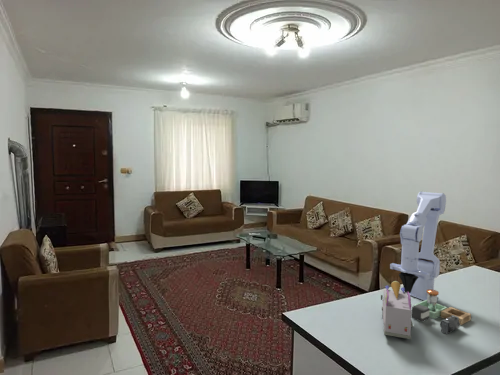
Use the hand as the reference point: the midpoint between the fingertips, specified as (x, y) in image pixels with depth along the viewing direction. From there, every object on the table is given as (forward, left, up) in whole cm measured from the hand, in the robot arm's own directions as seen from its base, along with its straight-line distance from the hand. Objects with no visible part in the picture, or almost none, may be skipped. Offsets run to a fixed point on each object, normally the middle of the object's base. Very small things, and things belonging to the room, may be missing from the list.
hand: (407, 292), depth 127 cm
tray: (+4, +8, -8) cm, 12 cm away
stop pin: (+5, +8, -7) cm, 12 cm away
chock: (+5, 0, -8) cm, 9 cm away
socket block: (+12, +11, -8) cm, 18 cm away
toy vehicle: (+4, -14, -8) cm, 17 cm away
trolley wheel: (+15, 0, -8) cm, 17 cm away
